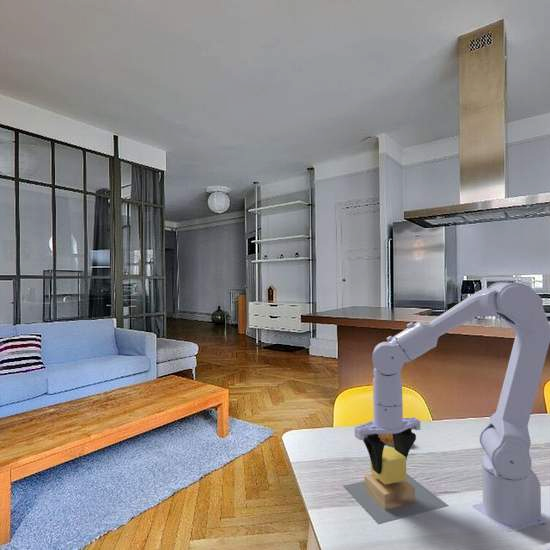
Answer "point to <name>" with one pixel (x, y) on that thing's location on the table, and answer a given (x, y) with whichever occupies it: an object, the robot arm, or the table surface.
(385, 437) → the pastry
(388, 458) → the yellow block
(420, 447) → the table surface
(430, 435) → the table surface
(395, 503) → the oak block
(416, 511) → the board
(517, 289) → the robot arm
